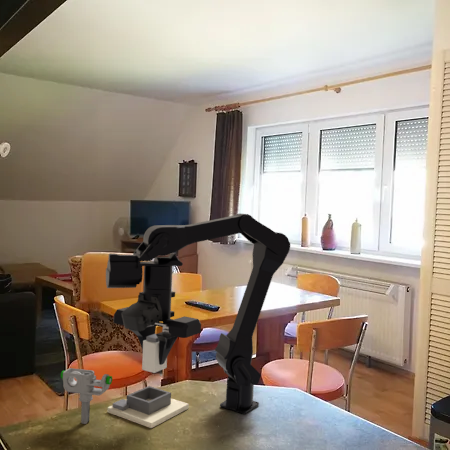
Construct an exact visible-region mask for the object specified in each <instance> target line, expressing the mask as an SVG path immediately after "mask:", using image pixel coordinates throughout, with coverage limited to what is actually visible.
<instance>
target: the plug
mask: <svg viewBox="0 0 450 450" xmlns="http://www.w3.org/2000/svg"><path fill="white" fill-rule="evenodd" d="M156 334H157V333H155V334H153V335H150V336H147V337H146V340H144V341H143V351H142V357H141V358H142V363H141V365H142V366H141V371H145V372H150V373H154V374H155V373H158V372H160V371H162V370H164V369H167V368H168V367H167V366H168V365H167V363H168V357H167V358H166V360H165V362H164V364H162V365H160V364H159V339H158V337H157V336H156Z"/></svg>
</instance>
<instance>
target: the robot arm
mask: <svg viewBox="0 0 450 450" xmlns="http://www.w3.org/2000/svg"><path fill="white" fill-rule="evenodd" d="M236 234H237V235H238V234H241V235H242V236H243V237H244V238H245V239H246V240H247V241H248V242H250V243H251V244H253V249H252V270H251V272H250V275H249V278H248V281H247V284H246V287H245V291H244V293H243V296H242V300H241V302H240V305H239V309H238V311H237V313H236V314H237V315H236V317H235V319H234V322H233V325H232V328H231V329H230V331H229V332H228V333H227V334H224V333H222V332H221V333H220V336H219V338H218V343H217V345H216V347H215V348H214V351H215V352H216V353H215V359H216V361H217V364H218V365H219V366H220V367H221V368H222V369H223V372H224V374H226V375H227V376H228V377H227V380H226V390H225V392H226V394H225V400H224V401H222V402H221V403H220V404H219V407H221V408H224V409H227V410H230V411H234V412H237V413H240V414H243V415H244V414H247V413H248V412H250V411H252V410H253V409H255V408H257V407H258V406H259V405H260V402H259V401H255V400H254V389H255V388H254V385H258V384H259V382H260V379H261V377H262V374H261V373H260V372H259V371H258V370H257V369H256V368H255V367H254V366H253V365H252V360H253V353H254V345H253V338H254V337H253V335H254V332H255V330H256V326H257V324H258V321H259V318H260V315H261V312H262V308H263V306H264V304H265V300H266V297H267V295H268V291H269V288H270V286H271V281H272V280H273V278H274V277H273V276H274V275H275V273H276V272H277V270H278V269H280V267H281V266H282V265H283V264H284V261H285V260H286V258H287V256H288V255H289V253H290V250H291V242H290V240H289V238H288V237H287V235H286V234H285V233H282V232H276V231H274V230H273V229H271V228H270V227H268V226H266V225H264V224H262V223H261V222H260V221H257V219H255V218H254V217H253V216H252V215H251V214H248V213H236V214H234V215H230V216H225V217H221V218H215V219H211V220H206V221H200V222H196V223H191V224H185V225H184V224H183V225H182V224H181V225H179V224H178V225H177V224H165V225H152V226H149V227H148V228H147V229H146V231H145V232H144V235H143V237H142V238H143V241H142V242H141V243H140V245H139V246H138V247H137V248H136V249H135V251H134V252H133V254H120V253H119V254H118V253H109V254H108V260H107V266H106V268H105V285H106V289H129V288H130V289H131V288H132V289H134V288H136V287H138V286H137V285H140V283H142V281H143V288H142V289H143V290H142V291H141V292H138V296H137V301H136V302H134V303H132V304H131V305H129V306H126V307H122V308H118V309H116V311H115V312H114V314H113V324H116V325H120V326H123V327H124V329H125V330H126V329H127V330H128V331H131V332H133V333H134V334H135V335H136V336H137V338H138V339H137V340H138V341H139V343H140V347H141V350H142V352H143V341H144V340H146V337H147V336H150V335H153V334H156V336H157V337H158V339H159V364H160V365H162V364H164V362H165V360H166V358H167V359H168V356H169V354H170V352H171V350H172V348H173V346H174V344H175V342H176V340H177V339H178V338H180V339H186V338H190V337H193V336H195V335H198V334H201V333H202V323H201V321H200V319H199V318H194V317H191V316H190V317H189V316H181V317H179V318H178V317H177V318H174V317H175V310H174V311H173V310H172V298H175V297H176V291H172V290H173V289H172V287H173V286H172V284H173V267H181V266H183V264H184V263H183V262H182V261H181V260H180V259H179V258H178V256H177V255H176V254H175V253H176V252H179V251H180V250H182V249H183V248H185V247H187V246H189V245H192V244H195V243H201V242H205V241H209V240H214V239H218V238H224V237H228V236H232V235H236ZM168 255H169V256H168ZM163 256H164V257H163ZM143 267H144V268H143ZM143 271H144V272H143ZM172 318H174V319H172ZM157 327H161V328H162V331H161V332H159V333H156V331H157V330H156V329H157Z"/></svg>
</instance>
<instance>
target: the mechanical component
mask: <svg viewBox="0 0 450 450" xmlns="http://www.w3.org/2000/svg"><path fill="white" fill-rule="evenodd" d="M60 379H61V380H62V381H63V382H62V383H63V385H62V386H63V389H64V390H65V391H66V392H67V393H76V394H79V398H78V400H79V401H80V402H81V409H80V410H81V412H80V413H81V414H80V417H81V418H80V423H81V424H84V425H85V424H87V425H88V422H90V413H91V412H90V409H91V403H90V402H92V400H93V396H102V395H103V394H104V393H105V392H106V391H108V390H109V389H110V385H111V384H112V383H113V376H112V375H110V374H107V373H105V374H103V375H102V377H101V379H97V375H95V371H94V370H92V369H91V370H90V369H82V368H72V367H69V368H68V369H66V370H64V369H63V370H62V371H61V372H60ZM98 387H99V388H98Z"/></svg>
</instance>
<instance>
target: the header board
mask: <svg viewBox="0 0 450 450" xmlns="http://www.w3.org/2000/svg"><path fill="white" fill-rule="evenodd" d="M189 404H190V403H187V402H184V401H181V400H178V399H174V398H172V392H170V391H167V390H164V389H161V388H157V387H155V386H150V385H147V386H145V387H142V388H140V389H138V390H136V391H134V392H131V393H129V394H127V395H126V399H123V398H122V399H120V400H116V401H115V402H113V403H112V405H109V406H108V407H107V413H108V414H111V415H115V416H117V417H119V418H123V419H125V420H128V421H130V422H133V423H135V424H139V425H141V426H144V427H147V428H149V429H152V428H154V427H157V426H158V425H160V424H162V423H164V422H166V421H168V420H169V419H171V418H173V417H175V416H177V415H179V414H181V413H182V412H185V411H186V410H188V409H189V406H190V405H189Z"/></svg>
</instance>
